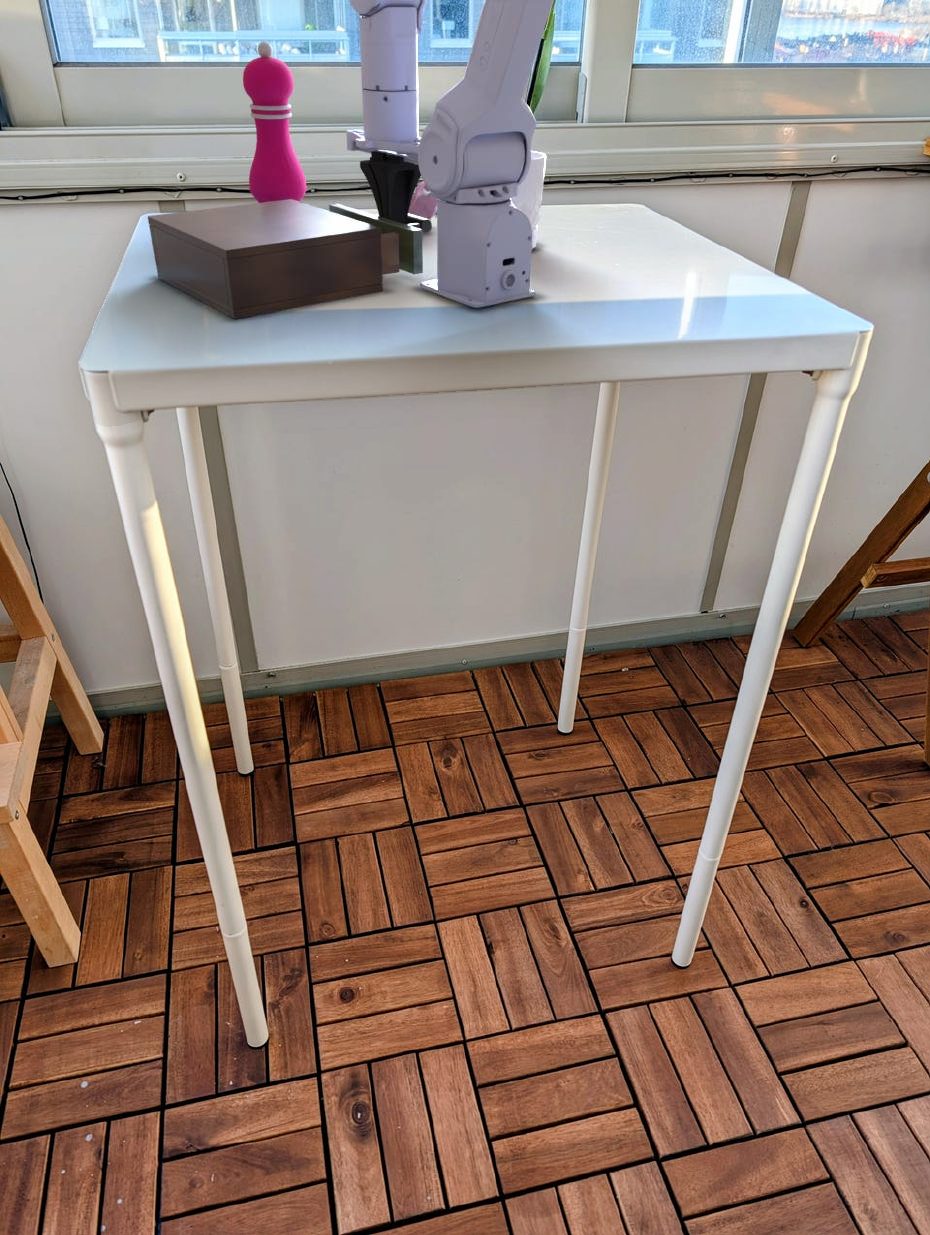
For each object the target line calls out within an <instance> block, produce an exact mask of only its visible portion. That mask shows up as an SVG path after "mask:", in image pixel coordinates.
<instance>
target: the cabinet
mask: <svg viewBox="0 0 930 1235" xmlns="http://www.w3.org/2000/svg"><path fill="white" fill-rule="evenodd" d="M147 222H148V227H149V233H150V238H151V245H152V249H153V256H154V262H155V267H156V274H157V278H158V279H159V280H161V281H163V282H165V283H167V284H168V285H170V286H172V287H174V288H176V289H178V290H180V291H181V292H183V293H185V294H187V295H188V296H191V297H192V298H195V299H196V300H199V302H201V303H204V304H205V305H207V306H209V307H211V308H213V309H215V310H217V311H219V312H220V313H222V314H224V315H226V316H228V317H230V318H232V319H233V320H238V319H243V318H248V317H254V316H259V315H265V314H270V313H276V312H281V311H285V310H290V309H296V308H301V307H307V306H312V305H313V306H314V305H317V304H318V305H319V304H322V303H328V302H334V301H338V300H344V299H349V298H354V297H360V296H365V295H370V294H375V293H380V292H384V287H383V285H384V284H383V275H382V249H381V228H380V227H376V226H373V225H370V224H367V223H364V222H361V221H358V220H355V219H352V218H349V217H345V216H342V215H339V214H336V213H333V212H330V211H329V210H327V209H324V208H321V207H318V206H314V205H311V204H308V203H305V202H302V201H300V202H299V201H296V200H293V199H288V200H280V201H271V202H263V203H259V202H255V203H248V204H239V205H229V206H221V207H214V208H213V207H212V208H205V209H197V210H196V209H195V210H189V211H180V212H171V213H163V214H156V215H155V214H154V215H147Z"/></svg>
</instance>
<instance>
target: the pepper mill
mask: <svg viewBox="0 0 930 1235" xmlns="http://www.w3.org/2000/svg"><path fill="white" fill-rule="evenodd" d="M257 53H258V55H259V57H256V58H254V59H252V60H250V61H249V62H248V63H247V64H246V66H245V67H244V70H243V74H242V84H243V85H242V86H243V89H244V91H245V93H246V94H247V96H248V97H249V99H250V100H251V102H252V103H251V104H249V108H250V117H251V118H253V119H254V125H255V130H256V132H255V133H256V144H255V152H254V156H253V160H252V163H251V166H250V170H249V175H248V188H249V192H250V194H251V195H252V197H253V198H254V199H255V200H256V201H257V203H263V202H271V201H280V200H288V199H293V200H296V201H299V202H302V199H304V196H305V194H307V193H306V192H307V182H306V181H307V180H306V176H305V174H304V171H303V167H302V166H301V163H300V160H299V159H298V157H297V155H296V152H295V150H294V147H293V144H292V139H291V134H290V118H292V116H293V114H292V110H291V108H292V105H291V104H290V103H289V99H290V97H291V96H292V94H293V93H294V88H295V86H294V85H295V84H294V78H293V74H292V72H291V70H290V68H289V67H288V65H287V64H286V63H285V62H284V61H283V60H281V59H278V58H276V57H272V56H273V54H274V48H273V46H272V44H271V43H270V42H268V41H261V42H259V44H258V46H257Z"/></svg>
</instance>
